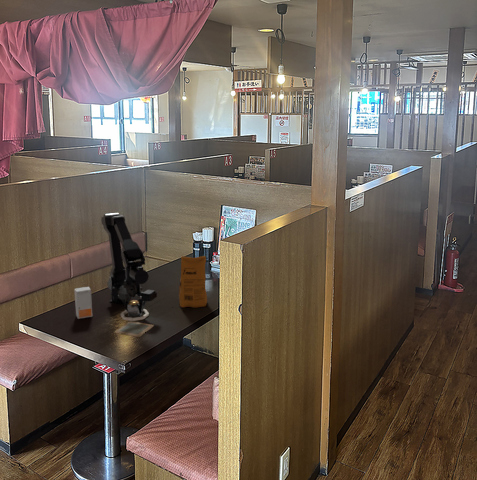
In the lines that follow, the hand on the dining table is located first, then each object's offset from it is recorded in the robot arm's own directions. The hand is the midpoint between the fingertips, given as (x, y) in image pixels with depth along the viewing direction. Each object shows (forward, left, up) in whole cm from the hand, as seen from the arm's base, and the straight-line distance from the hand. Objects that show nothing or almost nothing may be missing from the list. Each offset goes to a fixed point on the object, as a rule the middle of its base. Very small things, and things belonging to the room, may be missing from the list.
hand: (134, 312), depth 213 cm
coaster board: (+7, -12, -1) cm, 14 cm away
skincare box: (-19, -8, -2) cm, 21 cm away
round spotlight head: (0, 0, -1) cm, 1 cm away
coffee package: (+17, +20, -2) cm, 27 cm away
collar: (0, 0, -1) cm, 1 cm away
